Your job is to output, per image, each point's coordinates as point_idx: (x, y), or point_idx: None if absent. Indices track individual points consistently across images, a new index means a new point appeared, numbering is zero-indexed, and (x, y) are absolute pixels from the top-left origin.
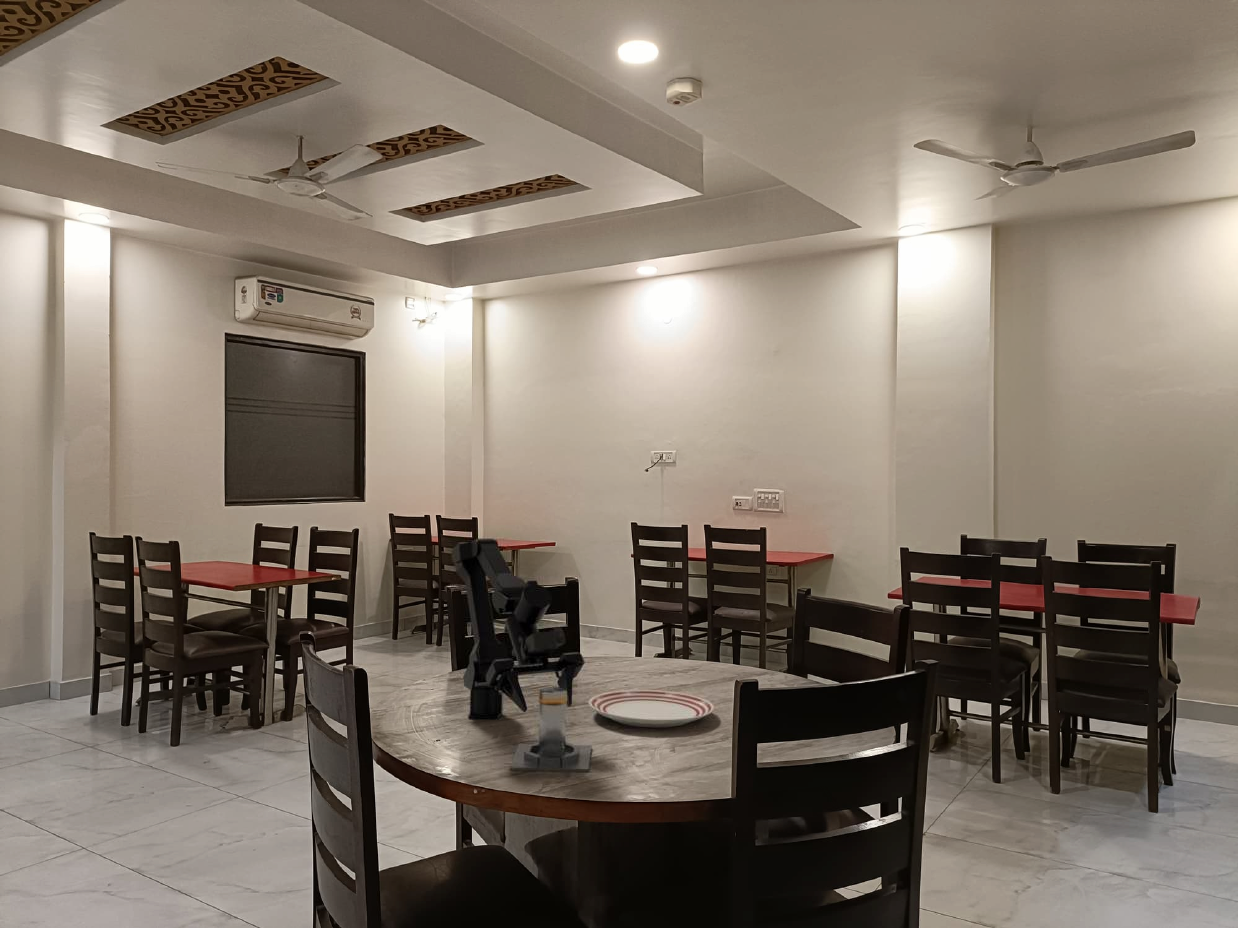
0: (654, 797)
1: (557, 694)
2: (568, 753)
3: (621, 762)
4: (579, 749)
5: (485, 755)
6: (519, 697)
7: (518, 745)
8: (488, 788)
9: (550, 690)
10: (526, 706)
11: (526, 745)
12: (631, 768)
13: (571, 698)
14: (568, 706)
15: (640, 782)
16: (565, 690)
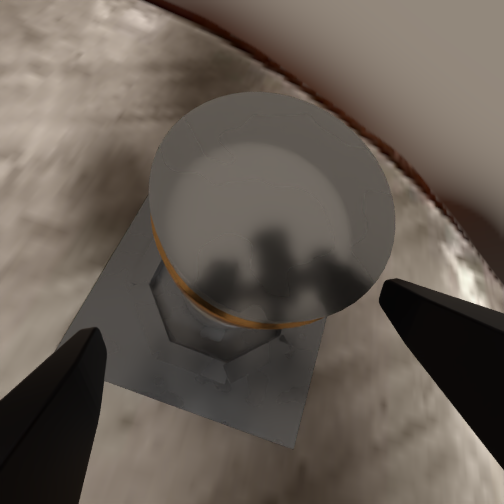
0: (107, 2)
1: (271, 99)
2: (169, 294)
3: (43, 194)
4: (140, 262)
5: (390, 373)
6: (481, 307)
7: (298, 428)
8: (388, 157)
9: (303, 212)
10: (396, 285)
11: (273, 421)
12: (47, 144)
13: (56, 354)
14: (106, 350)
15: (85, 66)
16: (165, 163)
